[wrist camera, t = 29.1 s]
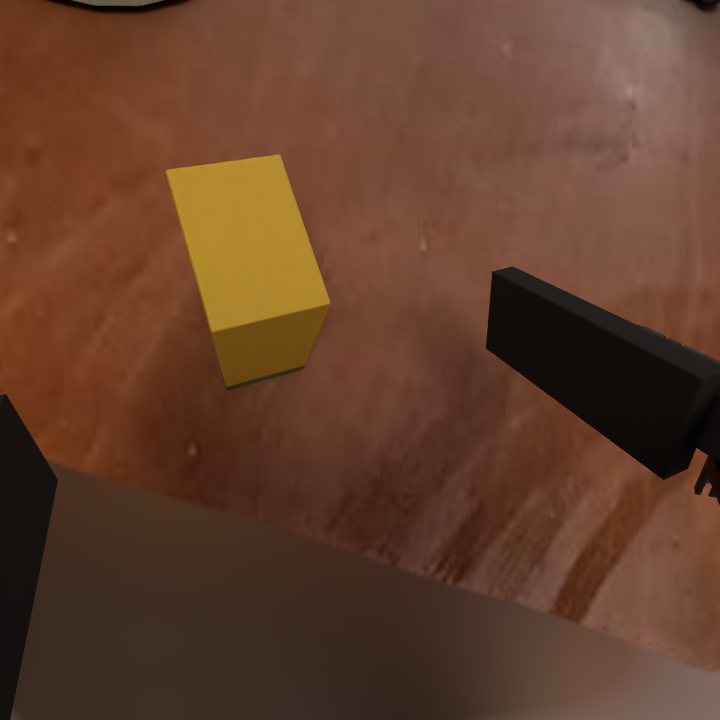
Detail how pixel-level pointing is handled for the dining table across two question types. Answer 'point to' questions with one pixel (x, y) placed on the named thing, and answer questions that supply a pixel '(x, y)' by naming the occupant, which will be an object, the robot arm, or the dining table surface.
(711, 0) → the figurine
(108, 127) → the dining table surface
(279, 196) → the sponge
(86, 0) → the bowl
